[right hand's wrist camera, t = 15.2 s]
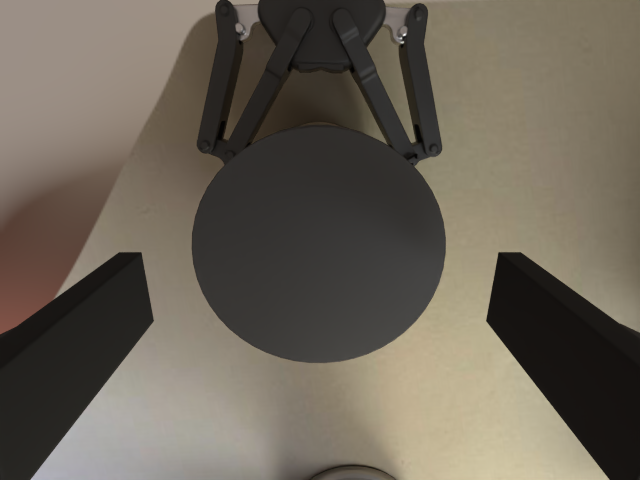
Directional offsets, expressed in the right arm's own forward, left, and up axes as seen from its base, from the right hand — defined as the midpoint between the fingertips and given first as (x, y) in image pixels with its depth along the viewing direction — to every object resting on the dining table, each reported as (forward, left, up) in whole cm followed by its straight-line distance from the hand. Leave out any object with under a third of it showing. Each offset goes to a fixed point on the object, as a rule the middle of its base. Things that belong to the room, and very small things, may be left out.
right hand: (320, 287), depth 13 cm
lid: (0, 0, -4) cm, 4 cm away
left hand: (-2, +4, -17) cm, 17 cm away
